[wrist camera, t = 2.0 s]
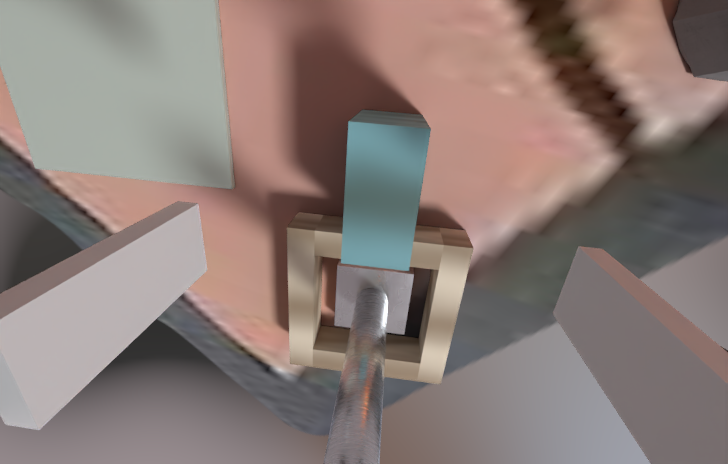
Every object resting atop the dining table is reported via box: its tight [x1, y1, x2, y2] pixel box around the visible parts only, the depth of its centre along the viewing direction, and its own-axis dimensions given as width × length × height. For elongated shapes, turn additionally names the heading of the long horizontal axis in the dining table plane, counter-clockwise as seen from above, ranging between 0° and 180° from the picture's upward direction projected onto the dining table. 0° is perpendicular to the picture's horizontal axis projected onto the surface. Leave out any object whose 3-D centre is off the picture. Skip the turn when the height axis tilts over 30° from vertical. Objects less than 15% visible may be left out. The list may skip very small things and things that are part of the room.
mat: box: [0, 0, 235, 189], centre depth 22 cm, size 20×16×1 cm
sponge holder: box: [287, 110, 473, 384], centre depth 24 cm, size 21×13×7 cm, turn 176°
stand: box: [324, 259, 414, 464], centre depth 20 cm, size 6×6×20 cm
